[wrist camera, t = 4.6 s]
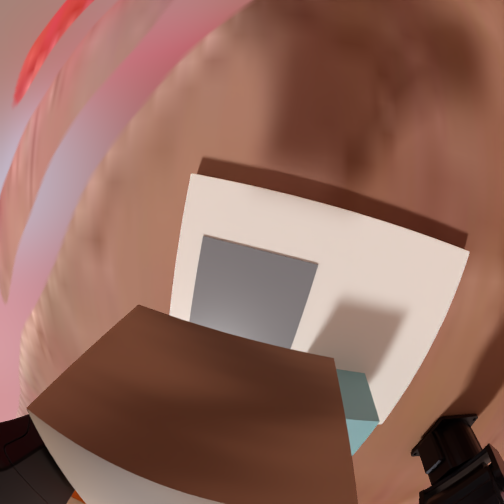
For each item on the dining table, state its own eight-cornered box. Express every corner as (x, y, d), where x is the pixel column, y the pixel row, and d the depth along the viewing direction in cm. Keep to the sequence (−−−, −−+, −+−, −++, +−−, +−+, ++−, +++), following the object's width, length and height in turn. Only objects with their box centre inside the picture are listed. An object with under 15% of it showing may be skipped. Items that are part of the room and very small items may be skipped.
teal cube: (364, 373, 18) (379, 421, 13) (338, 417, 19) (344, 464, 14) (300, 362, 18) (301, 413, 13) (280, 408, 19) (276, 457, 14)
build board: (462, 248, 15) (470, 252, 14) (379, 416, 20) (381, 425, 19) (196, 173, 17) (190, 173, 16) (168, 373, 21) (164, 381, 20)
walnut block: (333, 357, 7) (358, 513, 3) (276, 461, 9) (264, 561, 4) (138, 304, 8) (26, 408, 3) (139, 421, 9) (88, 506, 5)
